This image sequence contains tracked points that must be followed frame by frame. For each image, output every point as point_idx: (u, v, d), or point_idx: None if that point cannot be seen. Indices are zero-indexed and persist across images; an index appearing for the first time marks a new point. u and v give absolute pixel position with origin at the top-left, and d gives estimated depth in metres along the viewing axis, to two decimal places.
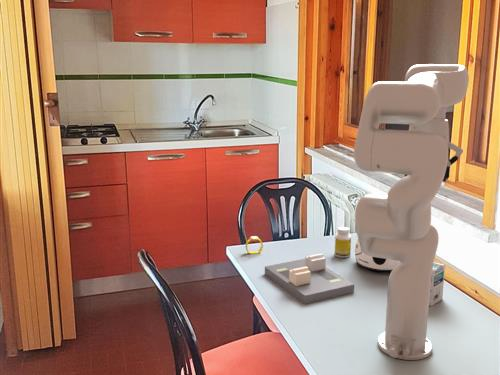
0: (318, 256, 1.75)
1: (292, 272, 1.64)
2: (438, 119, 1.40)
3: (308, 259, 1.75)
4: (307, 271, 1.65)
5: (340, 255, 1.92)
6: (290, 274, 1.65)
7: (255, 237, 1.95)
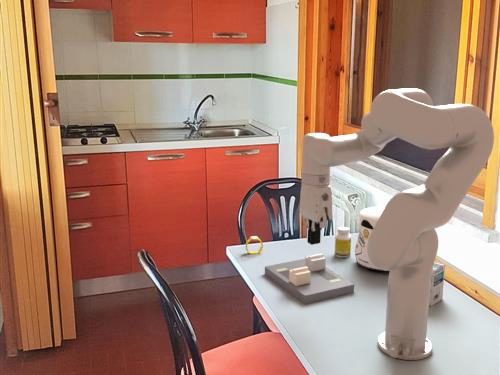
0: (318, 256, 1.75)
1: (292, 272, 1.64)
2: None
3: (308, 259, 1.75)
4: (307, 271, 1.65)
5: (340, 255, 1.92)
6: (290, 274, 1.65)
7: (255, 237, 1.95)
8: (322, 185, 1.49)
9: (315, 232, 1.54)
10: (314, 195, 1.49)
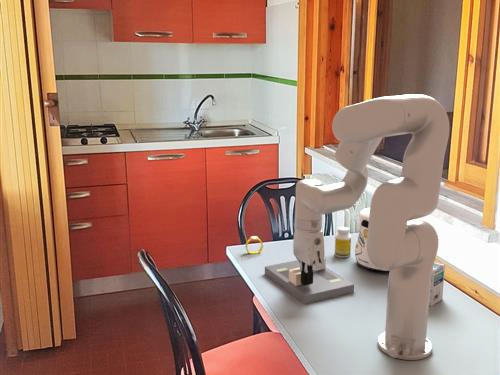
0: None
1: (292, 272, 1.64)
2: None
3: None
4: None
5: (340, 255, 1.92)
6: (290, 274, 1.65)
7: (255, 237, 1.95)
8: (314, 230, 1.55)
9: (308, 274, 1.60)
10: (307, 240, 1.55)
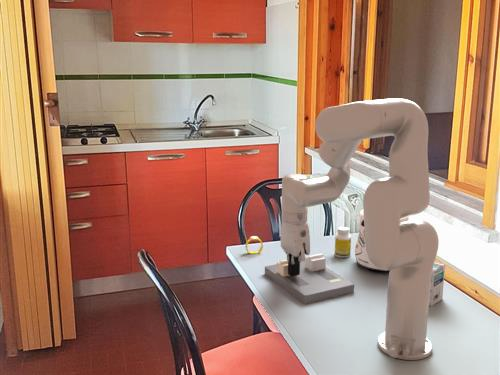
0: (318, 256, 1.75)
1: (279, 263, 1.70)
2: None
3: (308, 259, 1.75)
4: None
5: (340, 255, 1.92)
6: (278, 265, 1.72)
7: (255, 237, 1.95)
8: (300, 222, 1.61)
9: (294, 265, 1.66)
10: (293, 232, 1.61)
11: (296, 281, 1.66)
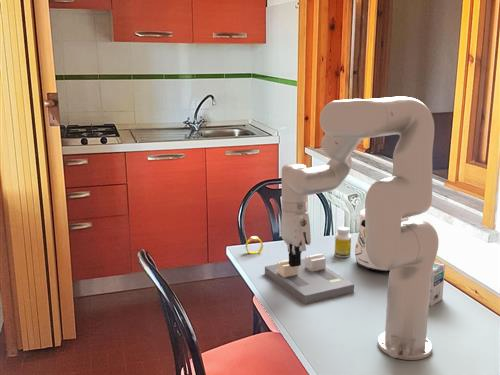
0: (318, 256, 1.75)
1: (280, 264, 1.70)
2: None
3: (308, 259, 1.75)
4: None
5: (340, 255, 1.92)
6: (278, 266, 1.71)
7: (255, 237, 1.95)
8: (300, 212, 1.60)
9: (295, 255, 1.65)
10: (293, 222, 1.61)
11: (296, 281, 1.66)
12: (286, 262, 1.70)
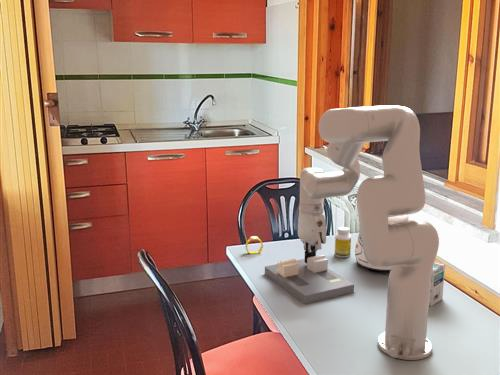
0: (320, 257, 1.74)
1: (280, 264, 1.70)
2: None
3: (310, 260, 1.74)
4: (295, 263, 1.71)
5: (340, 255, 1.92)
6: (278, 266, 1.71)
7: (255, 237, 1.95)
8: (317, 213, 1.71)
9: (311, 253, 1.76)
10: (310, 222, 1.72)
11: (296, 281, 1.66)
12: (286, 262, 1.70)
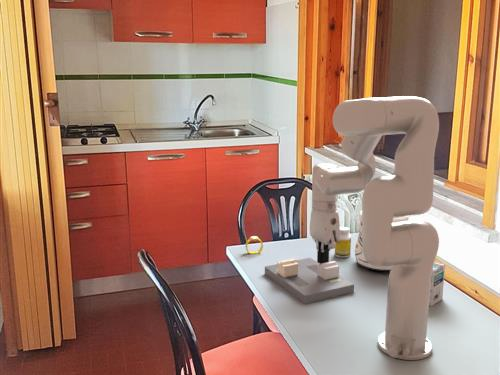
0: (331, 264, 1.69)
1: (280, 264, 1.70)
2: None
3: (321, 267, 1.68)
4: (295, 263, 1.71)
5: (340, 255, 1.92)
6: (278, 266, 1.71)
7: (255, 237, 1.95)
8: (330, 210, 1.64)
9: (324, 253, 1.69)
10: (323, 220, 1.65)
11: (296, 281, 1.66)
12: (286, 262, 1.70)
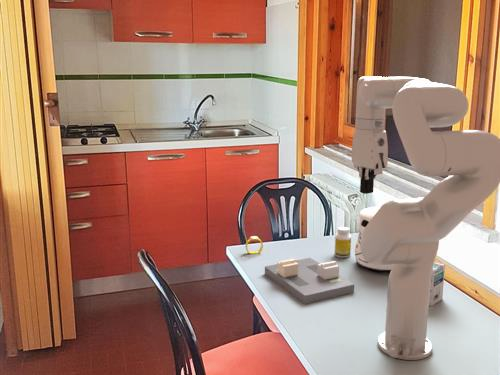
0: (331, 264, 1.69)
1: (280, 264, 1.70)
2: None
3: (321, 267, 1.68)
4: (295, 263, 1.71)
5: (340, 255, 1.92)
6: (278, 266, 1.71)
7: (255, 237, 1.95)
8: (378, 130, 1.43)
9: (368, 180, 1.48)
10: (369, 141, 1.43)
11: (296, 281, 1.66)
12: (286, 262, 1.70)
